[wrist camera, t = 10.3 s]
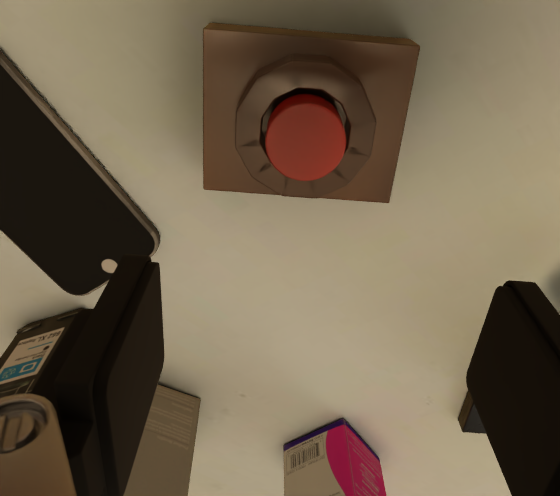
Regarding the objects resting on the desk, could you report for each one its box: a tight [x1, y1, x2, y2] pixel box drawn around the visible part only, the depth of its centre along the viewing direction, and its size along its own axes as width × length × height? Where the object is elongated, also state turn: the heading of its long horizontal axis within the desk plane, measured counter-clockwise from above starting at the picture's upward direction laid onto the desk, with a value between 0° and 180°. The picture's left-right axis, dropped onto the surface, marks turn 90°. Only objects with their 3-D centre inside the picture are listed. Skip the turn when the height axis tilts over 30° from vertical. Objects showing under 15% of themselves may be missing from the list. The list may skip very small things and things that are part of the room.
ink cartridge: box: [0, 308, 83, 398], centre depth 31 cm, size 5×2×8 cm, turn 110°
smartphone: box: [0, 51, 160, 296], centre depth 29 cm, size 8×1×15 cm
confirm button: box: [265, 94, 346, 181], centre depth 23 cm, size 4×4×2 cm
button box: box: [203, 23, 420, 203], centre depth 26 cm, size 10×8×4 cm
